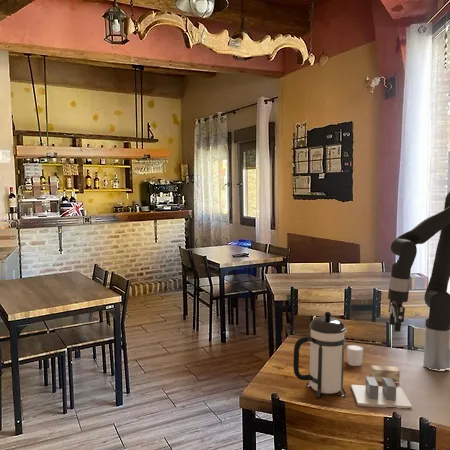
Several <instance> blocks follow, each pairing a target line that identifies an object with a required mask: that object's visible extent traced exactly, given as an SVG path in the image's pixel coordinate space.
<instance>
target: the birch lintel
mask: <svg viewBox="0 0 450 450" xmlns="http://www.w3.org/2000/svg"><path fill="white" fill-rule="evenodd" d="M400 372H401V371H400V369H399V367H398V366H390V365H389V366H387V365H373V364H372V365H371V364H370V374H369V375H370V376H369V377H375V379H376V381H378V382H377V383H383V378H392V380H393V382H399V383H400V377H401V375H400Z"/></svg>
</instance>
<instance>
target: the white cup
mask: <svg viewBox="0 0 450 450" xmlns="http://www.w3.org/2000/svg"><path fill="white" fill-rule="evenodd" d="M363 353H364V347H363V346H360V345H357V344H350V345H349V344H348V345H347V346H346V355H347V356H346V357H347V365H350V366H352V367H353V366H354V367H360V366H362V362H363Z"/></svg>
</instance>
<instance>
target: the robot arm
mask: <svg viewBox="0 0 450 450" xmlns="http://www.w3.org/2000/svg"><path fill="white" fill-rule="evenodd" d="M439 232H440V233H439ZM438 233H439V239H438V242H437V247H436V250H435V254H434V255H435V256H434V261H433V265H432V270H431V275H430V279H429V280H428V281H429V282H428V284H427V287H426V290H425V293H424V297H423V298H424V299H423V300H424V303H425V304H426V306H427V307H428V308H429V313H428V317H427V318H426V319H425V326H424V346H423V360H422V361H423V365H424V366H426V367H428V368H431V369H437V370H440V369H446V368H450V293H449V292H448V286H449V281H450V190H449V191H448V192H447V194H446V196H445V201H444V207H443V210H441V211H439V212H437V213H435V214H433V215H431V216H428V217H427V218H425V219H424V220H422V221H421V222H419V223H418V224H417V225H416V226H415V227H413V228H412V229H411V230H409V231H406V232H404V233H403V234H401V235H399V236H397V237H395V239H393V241H392V242H391V245H390V250H391V252H392V253H393V254H394V255H396V256H399V257H398V258H397V259H398V260H397V262H396V261H395V262H393V263H392V266H391V273H390V279H389V285H388V293H387V299H388V300H389V305H388V315H389V319H388V320H389V321H388V324H389V325H391V326H394V327H393V329H394V330H393V331H394V332H401V328H402V323H404V322H405V311H406V308H405V306H403V303H407V302H408V300H409V292H410V285H411V284H410V280H411V270H412V267H413V265H414V263H415V259H416V257H417V252H418V249H417V245H422V244H425V243H426V242H427V241H428V240H430V239H431V238H433V237H434V236H436V234H438ZM424 366H423V367H424Z"/></svg>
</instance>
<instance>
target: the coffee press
mask: <svg viewBox="0 0 450 450" xmlns="http://www.w3.org/2000/svg"><path fill="white" fill-rule="evenodd" d="M346 327H347V326H345V324H344V322H343V320H341V319H339V318H337V317H335V316H332V313H331V312H330V311H326V312H324V316H323V315H321V316H317V317H315V318H313V319H312V320H311V322H310V323H309V329H310V334H309V336H303V337H301V338H299V339H298V340H297V341H296V342H295V344H294V347H293V364H292V365H293V372H294V373H293V374H294V376H295V377H296V378H297V379H298V380H300V381H307V382H306V387H308V388H310V387H311V388H312V390H314V391H315V392H316V395H315V398H316V399H322V396H323V394H336V393H338V394H339V395H340V397H342V398H344V397H346V395H347V392H346V391H345V389H344V364H345V362H344V361H345V343H346V342H345V341H346V336H345V333H348V330H347V328H346ZM308 342H309V346H310V347H309V371H308V374H301V373H300V367H299V366H300V363H299V362H300V348H301V346H302V345H303V344H304V343H308Z"/></svg>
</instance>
